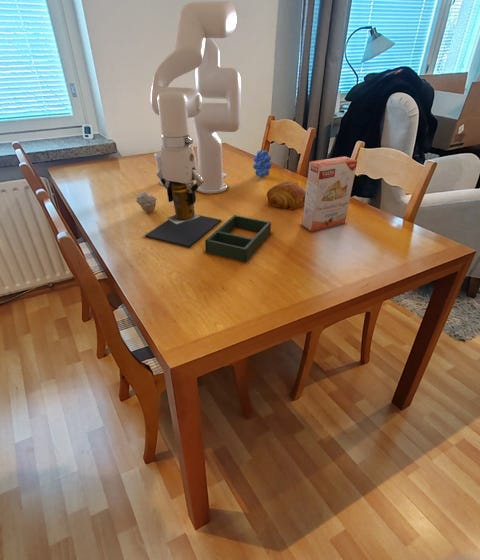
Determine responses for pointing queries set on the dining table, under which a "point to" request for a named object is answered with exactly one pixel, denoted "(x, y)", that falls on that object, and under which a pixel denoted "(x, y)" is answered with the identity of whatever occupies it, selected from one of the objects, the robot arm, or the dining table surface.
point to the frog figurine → (146, 202)
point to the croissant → (286, 195)
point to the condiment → (181, 204)
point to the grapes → (262, 163)
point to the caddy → (237, 238)
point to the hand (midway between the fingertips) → (181, 201)
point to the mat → (183, 231)
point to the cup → (158, 162)
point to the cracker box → (328, 192)
